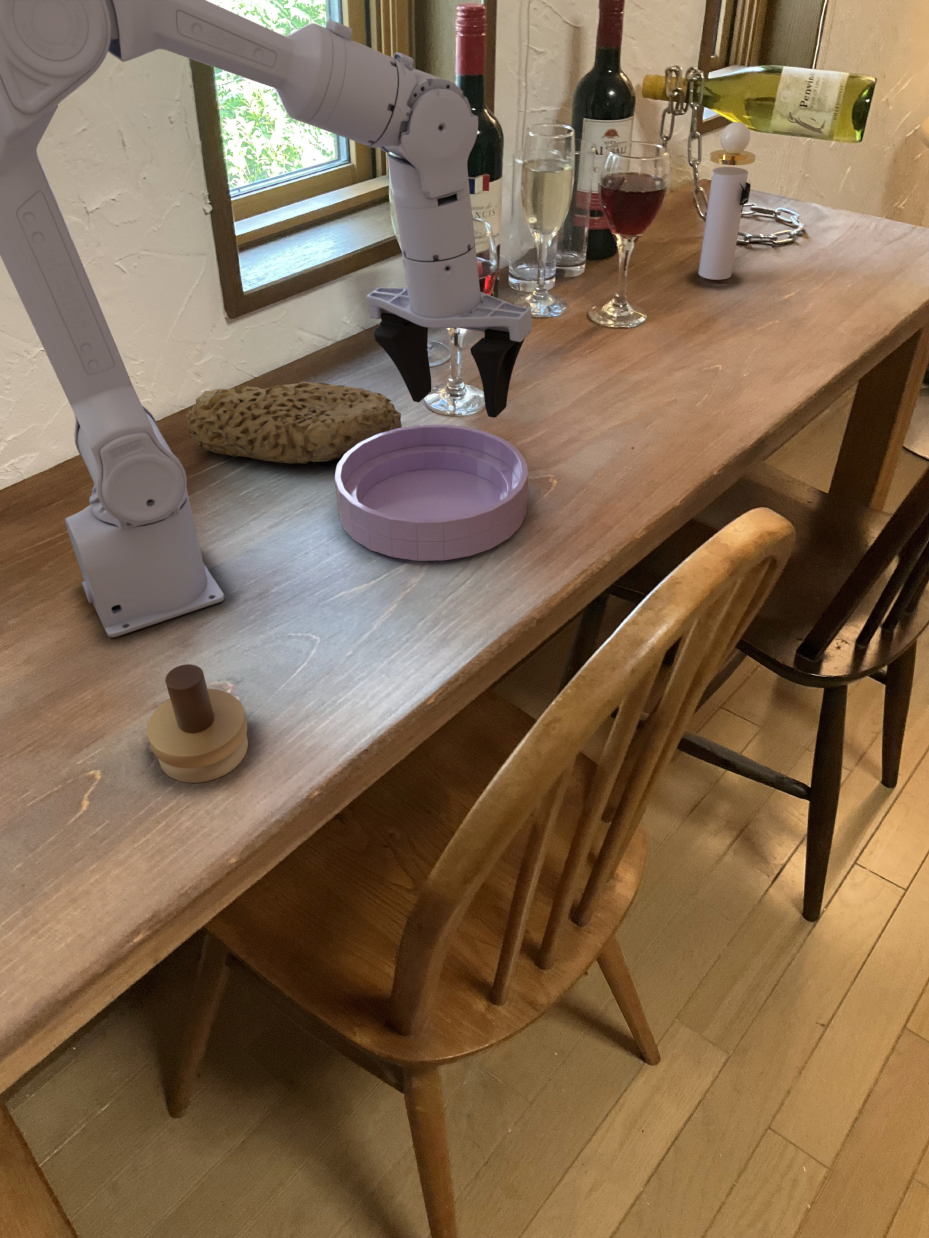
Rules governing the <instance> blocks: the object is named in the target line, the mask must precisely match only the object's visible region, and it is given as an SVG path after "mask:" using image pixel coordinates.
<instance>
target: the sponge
mask: <svg viewBox="0 0 929 1238" xmlns="http://www.w3.org/2000/svg"><path fill="white" fill-rule="evenodd" d="M185 417H186V419H187V423H186V424H187V425H186V426H187V431H188V433H189V435H190V436H191V437H192V439H193V440H194V441H195V442H196V443H197V444H198V446H199V447H201V448H202V449H205V450H208V451H210V452H213V453H214V454H219V455H228V456H230V457H234V458H235V457H236V458H238V457H244V458H250V459H254V460H257V461H258V460H260V461H263V462H275V463H278V464H279V463H281V464H289V465H291V464H305V465H306V464H308V463H309V462H313V463H318V462H319V463H321V462H330V461H333V460H336V459H339V458H340V459H341V458H342V457H343V456H344V454H345V453H346V452H347V451H349V450H350V449H351V448H353V447H354V446H355V445H357V444H358V443H360V442H361V441H364V440H366V439H368V438H370V437H372V436H374V435H376V434H379V433H383V432H386V431H390V430H393V429H397V428H402V427H403V426H402V420H401V418H402V412H400V411H398V410H396V408H395V405H394V403H392V400H391V399H389V397H387V396H386V395H384V394H382V393H380V392H375V391H371V390H368V389H364V388H363V387H354V386H353V387H352V386H348V385H341V384H340V385H339V384H333V383H324V382H312V381H311V382H310V381H300V382H299V383H288V384H287V383H286V384H278V385H274V386H270V387H267V388H265V387H264V388H263V387H260V386H249V385H238V386H237V387H233V388H216V389H212V390H204V391H203V393H202V394H201V395H199V396H198V397H196V398H195V404H193V405H192V408H191V410H187V411H186V413H185Z"/></svg>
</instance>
